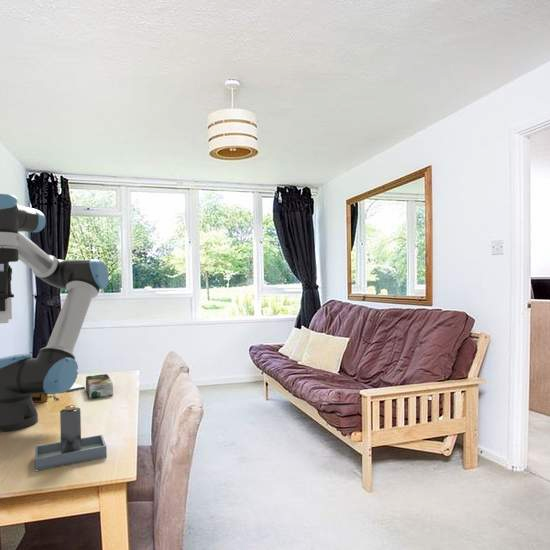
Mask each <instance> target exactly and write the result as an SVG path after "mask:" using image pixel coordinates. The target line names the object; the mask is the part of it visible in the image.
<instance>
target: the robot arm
mask: <svg viewBox="0 0 550 550" xmlns="http://www.w3.org/2000/svg"><path fill="white" fill-rule="evenodd" d="M46 224H47V223H46V216H45V214H44V213H43V212H42V211H40V210H39V209H36V208H33V207H28V206H23V205H19V203H18V198H17V196H15V195H12V194H8V193H0V324H9V323H10V322H9V320H12V318H13V310H12V307H13V306H12V302H13V301H12V298H15V294H13V292H12V279H13V278H12V276H13V275H12V274H13V268H12V267H11V265H10V263H16V262H18V261H20V262H22V263H23V264H24V265H26V266H27V267H29V268H30V269H31V270H32V272H33V274H34V276H35V277H37V278H38V279H40V280H42V281H43V282H45V283H47V284H48V285H50V286H52V287H55V288H58V289H62V290H66V291H67V294H66V296H65V299H64V302H63V304H62V307H61V309H60V312H59V313H58V317H57V319H56V322H55V324H54V327H53V329H52V332H51V335H50V336H49V339H48V341H47V344H46V346H45V347H42V348H40V349H39V352H38V354H37V356H36V358H35V357H34V358H33V357H32V353H30V352H29V353H28V352H27V353H20V354H13V355H9V356H4V357H0V433H1V432H9V431H10V430H11V431H15V429H16V430H21V429H23V428H24V429H25V428H27V427H29V426H32V425H34V424H36V423H37V422H38V420H39V413H38V411H37V408H36V405H35V404H34V403H35V402H33V401H32V394H48V395H56V394H57V395H58V394H64V393H67V392H66V391H68V390H69V389H70V388H71V387H72V386H73V384H74V383H76V380H77V378H78V374H79V372H78V369H79V364H78V361H76V357H75V355H74V353H73V352H74V349H75V346H76V344H77V341H78V339H79V336H80V333H81V329H82V327H83V323H84V321H85V319H86V316H87V313H88V310H89V307H90V305H91V301H92V299H94V298H97V296H98V294H99V291H100V290H104V289H106V288H107V287H108V285H109V279H110V278H109V272H108V268H107V266H106V264H105V263H104V261H103V260H101V259H94V258H90V259H68V260H66V259H60V258H59V259H58V258H56V256H54V255H52V254H47V253H46V252H45V251H44V250H43V249H41V248H40V246H38V244H36V243H35V242H33V241H32V240H31V239H30V238H29V237H27V236H26V235H25V234H24V233H22V232H25V233H26V232H27V233H39V232H41V231H42V230H43V229H44V228H45V227H46ZM20 428H21V429H20ZM11 431H10V432H11Z"/></svg>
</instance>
